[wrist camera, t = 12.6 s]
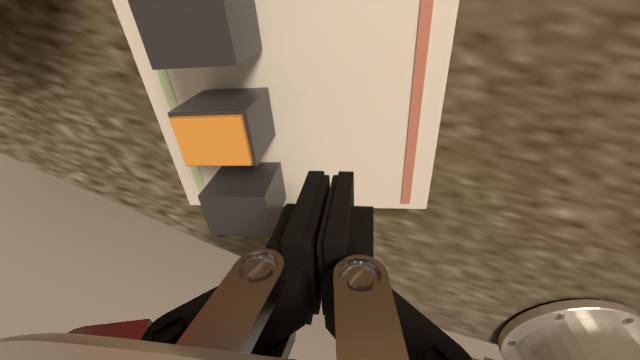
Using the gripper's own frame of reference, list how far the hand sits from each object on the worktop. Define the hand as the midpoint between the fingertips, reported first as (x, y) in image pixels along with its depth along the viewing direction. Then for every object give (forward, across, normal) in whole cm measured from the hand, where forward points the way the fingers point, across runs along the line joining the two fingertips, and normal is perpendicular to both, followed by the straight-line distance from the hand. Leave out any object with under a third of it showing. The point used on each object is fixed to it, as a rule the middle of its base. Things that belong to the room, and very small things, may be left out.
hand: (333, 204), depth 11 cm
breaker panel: (+10, +4, -1) cm, 11 cm away
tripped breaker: (+8, +7, -1) cm, 10 cm away
